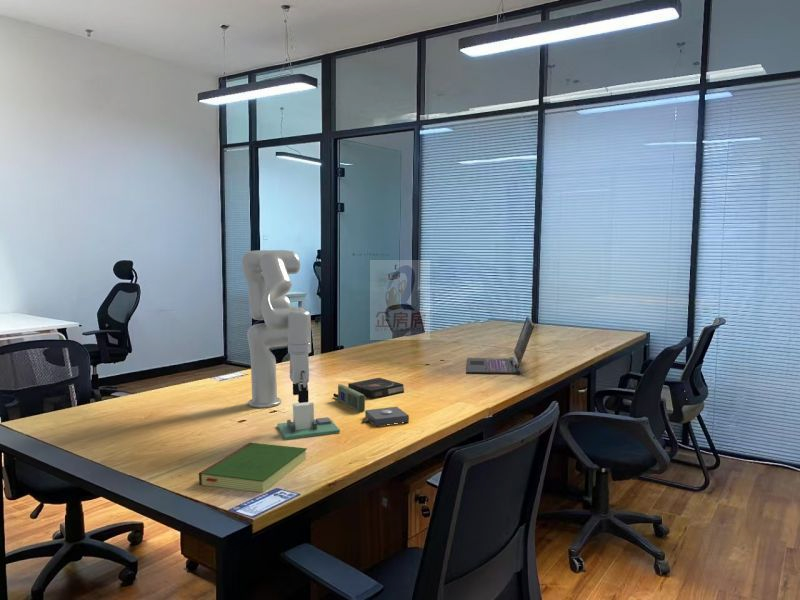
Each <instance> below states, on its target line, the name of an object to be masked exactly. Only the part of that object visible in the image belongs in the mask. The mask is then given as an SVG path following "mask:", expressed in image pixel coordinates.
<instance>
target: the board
mask: <svg viewBox="0 0 800 600" xmlns="http://www.w3.org/2000/svg"><path fill="white" fill-rule="evenodd" d="M277 429H278V430H279V432H280V433H281V435H282V438H283V439H284V441H288V440H293V439H294V440H295V439H302V438H304V439H305V438H310V437H311V438H312V437H317V436H327V435H333V434H334V433H335V434H340V433H341V430H340V428H339V427H338V426H337V425H336V424H335V423H334V421H333V420H331V418H329V417H327V416H325V417H318V418H314V421H312V427H311V428H309V429H300V430H295V428H294V425H293V421H292V420H291V419H287V420H286V422H281V423H280V422H279V423H277ZM335 434H334V435H335Z"/></svg>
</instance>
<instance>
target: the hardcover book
mask: <svg viewBox="0 0 800 600" xmlns="http://www.w3.org/2000/svg"><path fill="white" fill-rule="evenodd" d="M307 449H308V448H305V447H300V446H299V447H298V446H297V447H296V446H290V445H289V446H288V445H287V446H286V445H279V444H278V445H277V444H268V443H267V444H266V443H258V442H257V443H256V442H248V443H247V444H245V445H243V446H242V447H240V448H238V449H236V450H234V451H233V452H232V453H229V455H226V456H225V457H224V458H221V459H219V460H218V461H217V462H215V463H212V464H211V465H209V466H208V467H206V468H205V469H203V470H202V471H200V472H199V473H198V482H199V483H198V484H199V486H208V487H215V488H223V489H230V490H232V489H233V490H240V491H247V492H254V493H262V494H263V493H265V492H266V491H267V490H269V489H270V488H271V487H273V486H274V485H275V484H276V483H277V482H280V480H281V479H283V478H284V477H285V476H286V475H288V474H289V473H290V472H292V471H293V470H294V469H297V467H298V466H300V465H301V464H302V463H303V462H305V461H306V460H307V452H306V451H307Z"/></svg>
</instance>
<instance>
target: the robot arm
mask: <svg viewBox="0 0 800 600" xmlns="http://www.w3.org/2000/svg"><path fill="white" fill-rule="evenodd" d="M241 268H242V273H243V275H244V278H245V280H246V285H247V291H248V306H249V315H250V317H251V319H253V320H255V321H256V320H257V321H264V323H256V324H254V325H251V326H249V328H248V330H247V333H246V334H247V335H246V337H247V342H248V347H249V354H250V355H249V356H250V373H251V374H250V375H251V376H250V377H251V399H250V400H248V402H247V404H248V406H249V407H252V408H259V409H262V408H272V407H276V406H278V405H280V404H282V399H281V398H280V397H278V393H277V392H278V388H277V384H278V383H277V361H276V360H277V359H276V357H275V355H274V354H273V352H272V351H270V349H272V348H278V347H287V353H288V354H289V379H290V381H291V382H292V395H293V396H298V397H297V398H298V402H297V403H305V402H308V403H309V386H308V385H309V384H308V383H309V381H310V365H309V364H310V363H309V362H310V359H309V354H311V353H312V327H311V326H312V325H311V324H312V322H311V313H310V311H308V310H305V309H304V308H303V307H301V306H299V307H298V306H297V307H296V306H294V307H292V304H291V301H290V298H289V297H288V296H287V295H286V294H287V293H289V292H290V291H291V289H292V281H291V279H290V276H289V275H296V274H298V272H299V271H300V270H301V261H300V258H299V256H298V254H297V253H296V252H295V251H292V250H291V251H290V250H285V249H277V250H275V249H272V250H271V249H269V250H267V249H263V250H258V249H257V250H250V251H247V252H245V253H244V254H243V255H242V257H241Z"/></svg>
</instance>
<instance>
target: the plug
mask: <svg viewBox="0 0 800 600" xmlns="http://www.w3.org/2000/svg"><path fill="white" fill-rule="evenodd" d="M314 409H315V407H314V402H313V401H312V402H311V401H310V402H309V401H308V402H305V403H299V402H293V403H292V418H293V419H292V422H293V425H294V428H295V430H300V429H309V428H311V427H312V421H314V419H315V410H314Z"/></svg>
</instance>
